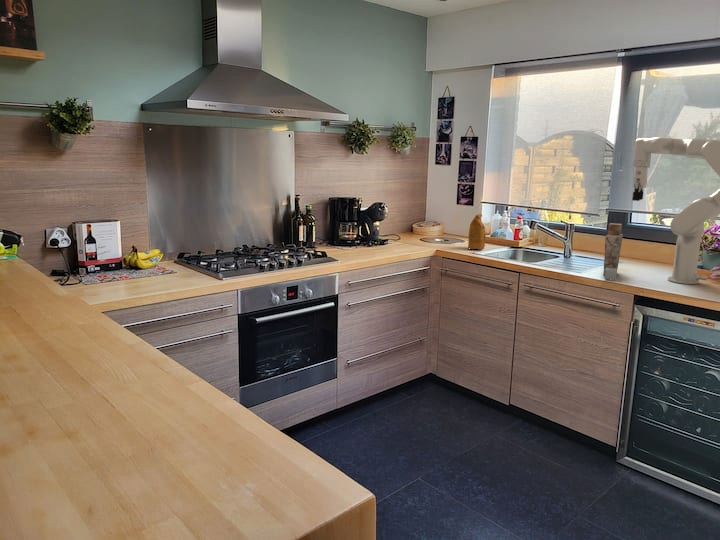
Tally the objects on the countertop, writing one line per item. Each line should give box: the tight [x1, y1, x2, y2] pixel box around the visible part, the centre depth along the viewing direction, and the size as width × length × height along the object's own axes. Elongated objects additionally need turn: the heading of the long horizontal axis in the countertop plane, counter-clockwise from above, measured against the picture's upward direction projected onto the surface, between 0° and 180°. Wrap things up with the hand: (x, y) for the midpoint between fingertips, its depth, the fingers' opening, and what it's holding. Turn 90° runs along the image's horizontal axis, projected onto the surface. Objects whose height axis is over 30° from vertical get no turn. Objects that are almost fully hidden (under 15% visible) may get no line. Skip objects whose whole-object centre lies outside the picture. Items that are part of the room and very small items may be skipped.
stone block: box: [603, 233, 624, 276], centre depth 269 cm, size 13×7×20 cm, turn 152°
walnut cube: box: [607, 222, 623, 235], centre depth 267 cm, size 5×5×5 cm
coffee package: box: [467, 213, 487, 251], centre depth 343 cm, size 10×12×22 cm
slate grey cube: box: [603, 268, 618, 281], centre depth 260 cm, size 5×5×5 cm
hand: (637, 200), depth 269 cm, fingers open, 9 cm apart
